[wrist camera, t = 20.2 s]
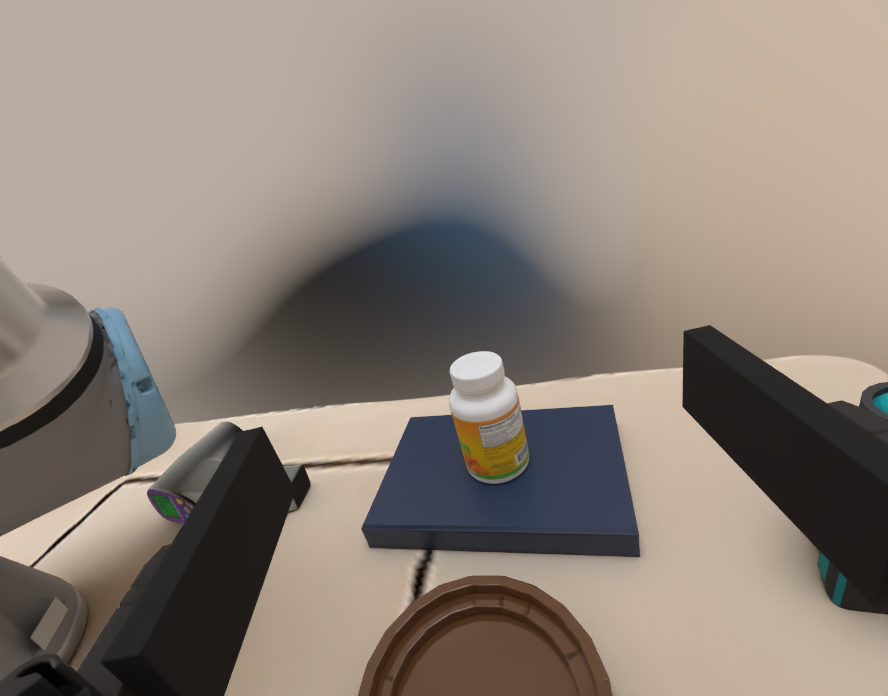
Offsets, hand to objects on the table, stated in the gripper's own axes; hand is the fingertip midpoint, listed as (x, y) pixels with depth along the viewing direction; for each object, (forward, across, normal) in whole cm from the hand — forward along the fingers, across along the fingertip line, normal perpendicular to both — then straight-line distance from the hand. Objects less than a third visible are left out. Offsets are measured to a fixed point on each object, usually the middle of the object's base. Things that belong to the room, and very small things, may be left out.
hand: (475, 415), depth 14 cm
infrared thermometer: (+25, -25, -20) cm, 41 cm away
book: (+17, 0, -20) cm, 26 cm away
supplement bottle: (+17, 0, -18) cm, 25 cm away
